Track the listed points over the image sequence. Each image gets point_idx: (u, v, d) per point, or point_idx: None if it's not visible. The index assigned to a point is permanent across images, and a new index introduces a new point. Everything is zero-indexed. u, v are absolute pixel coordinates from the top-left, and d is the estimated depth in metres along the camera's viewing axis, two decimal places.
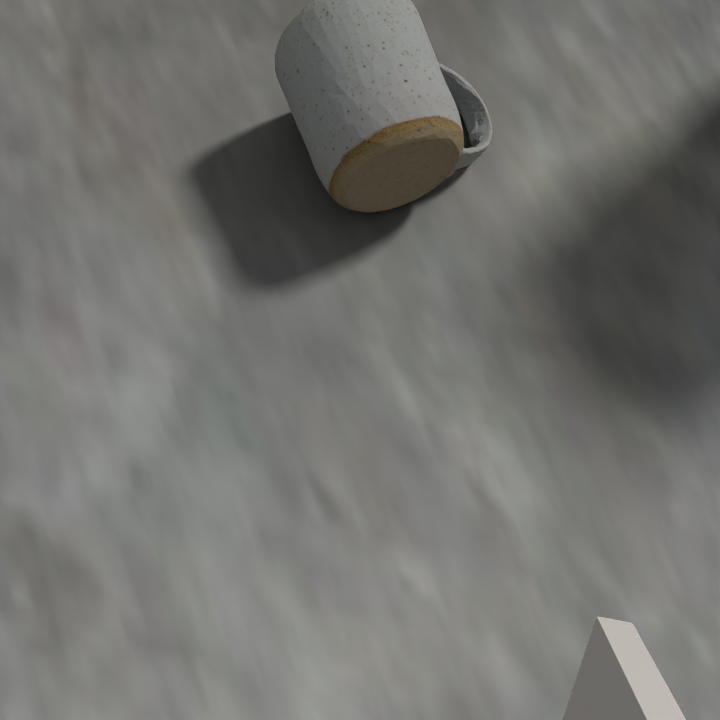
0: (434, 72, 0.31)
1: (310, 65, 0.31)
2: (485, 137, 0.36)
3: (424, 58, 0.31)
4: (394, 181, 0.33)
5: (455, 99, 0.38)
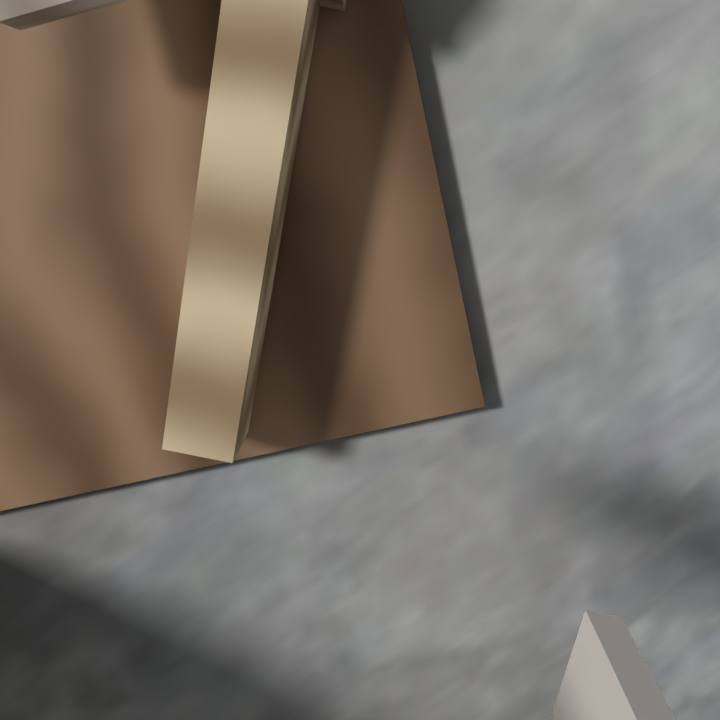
0: None
1: None
2: None
3: None
4: None
5: None
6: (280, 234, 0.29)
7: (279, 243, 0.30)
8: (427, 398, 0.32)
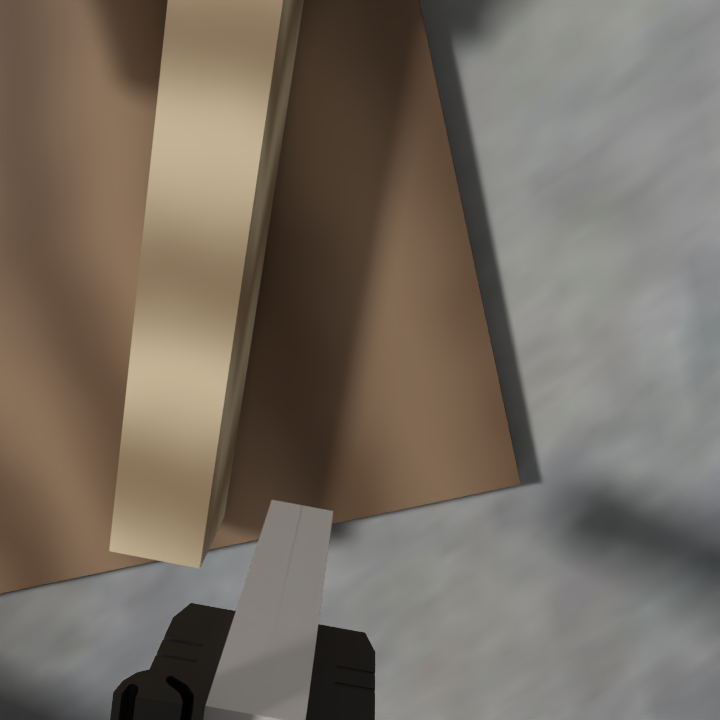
0: None
1: None
2: None
3: None
4: None
5: None
6: (260, 273, 0.23)
7: (259, 284, 0.23)
8: (448, 474, 0.25)
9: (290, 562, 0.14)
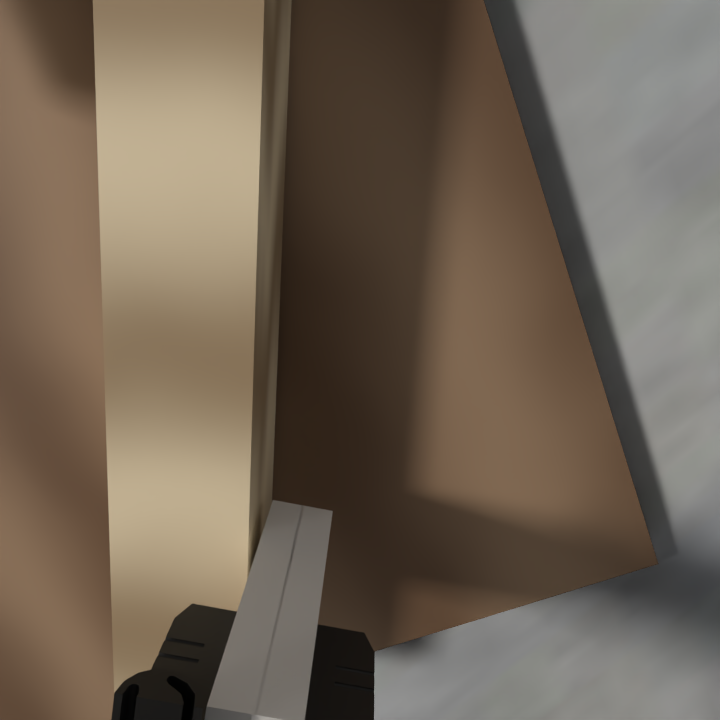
0: None
1: None
2: None
3: None
4: None
5: None
6: (276, 329, 0.17)
7: (277, 344, 0.17)
8: (559, 561, 0.19)
9: (291, 562, 0.14)
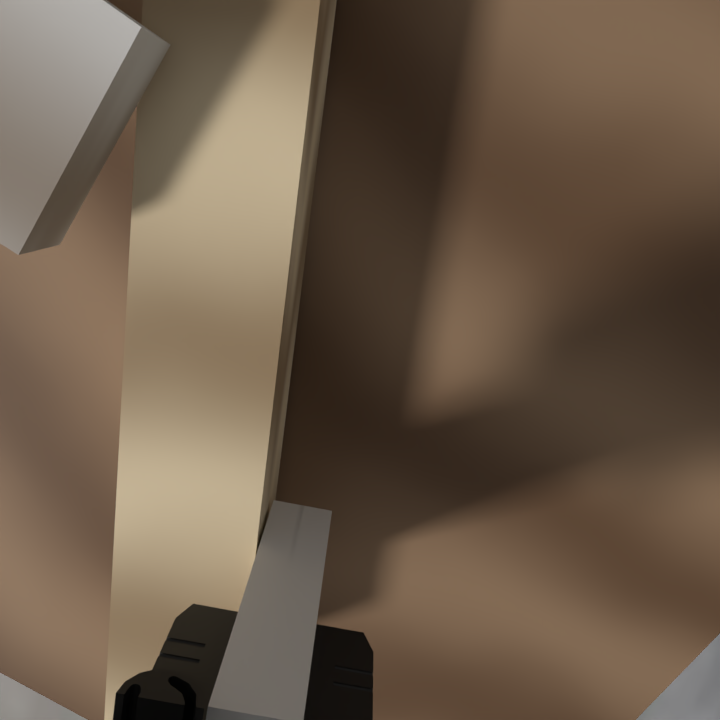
0: None
1: None
2: None
3: None
4: None
5: None
6: (295, 326, 0.16)
7: (294, 340, 0.17)
8: None
9: (292, 562, 0.14)
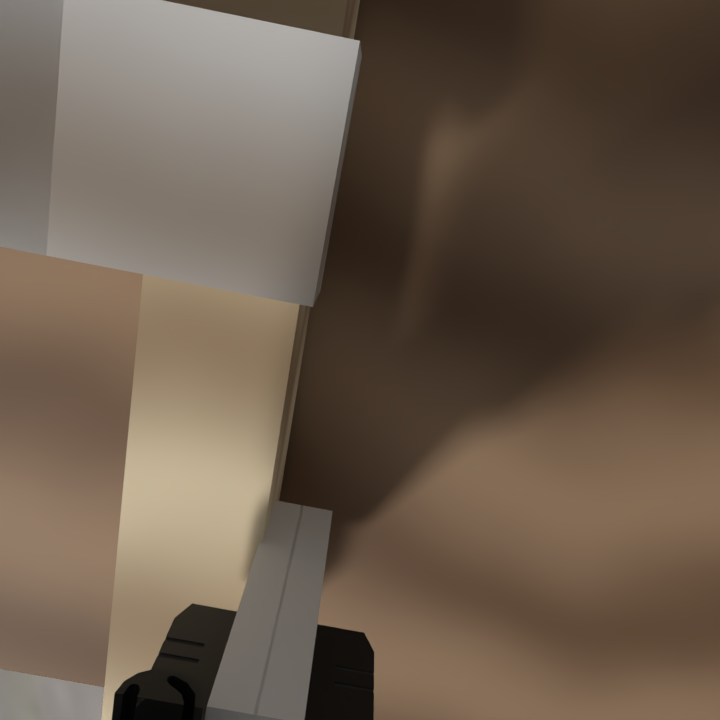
0: None
1: None
2: None
3: None
4: None
5: None
6: (306, 327, 0.16)
7: (304, 341, 0.17)
8: None
9: (291, 562, 0.14)
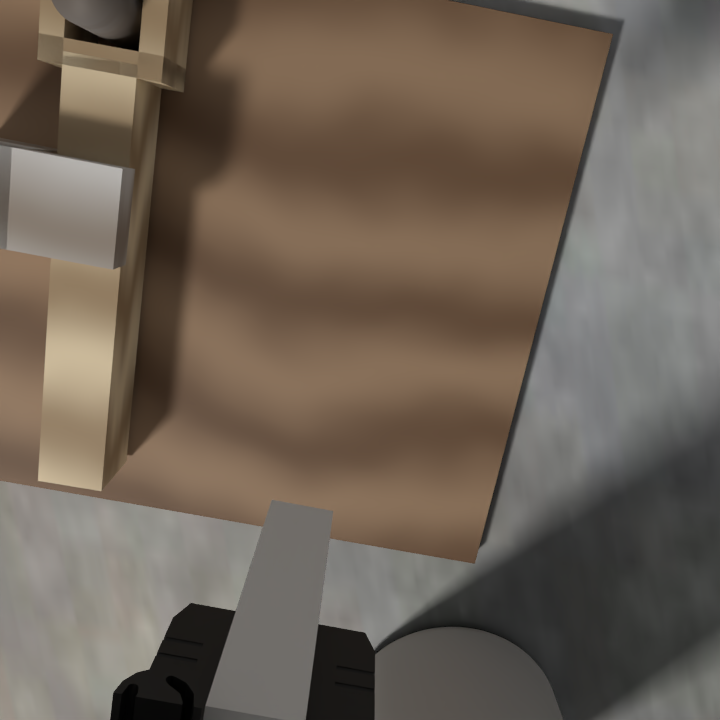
0: None
1: None
2: None
3: None
4: None
5: None
6: (140, 286, 0.33)
7: (141, 294, 0.34)
8: (576, 88, 0.31)
9: (290, 562, 0.14)
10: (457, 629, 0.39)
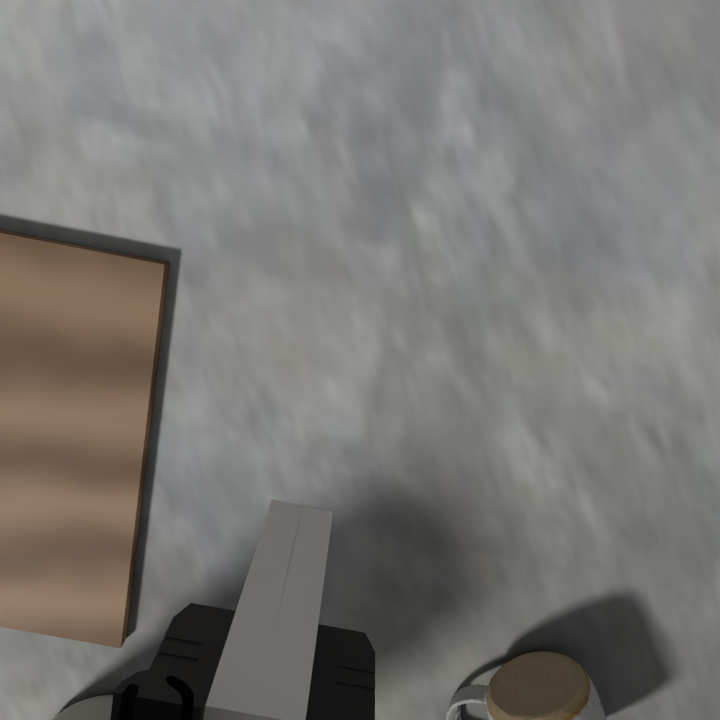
0: None
1: None
2: (453, 710, 0.48)
3: None
4: (537, 679, 0.45)
5: None
6: None
7: None
8: (143, 302, 0.41)
9: (290, 562, 0.14)
10: None
